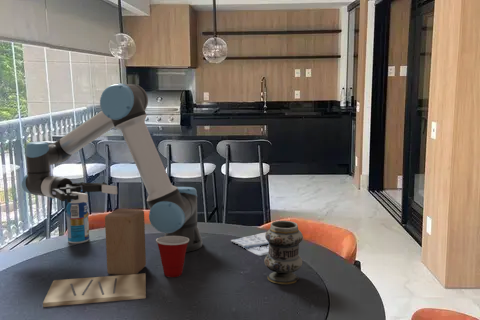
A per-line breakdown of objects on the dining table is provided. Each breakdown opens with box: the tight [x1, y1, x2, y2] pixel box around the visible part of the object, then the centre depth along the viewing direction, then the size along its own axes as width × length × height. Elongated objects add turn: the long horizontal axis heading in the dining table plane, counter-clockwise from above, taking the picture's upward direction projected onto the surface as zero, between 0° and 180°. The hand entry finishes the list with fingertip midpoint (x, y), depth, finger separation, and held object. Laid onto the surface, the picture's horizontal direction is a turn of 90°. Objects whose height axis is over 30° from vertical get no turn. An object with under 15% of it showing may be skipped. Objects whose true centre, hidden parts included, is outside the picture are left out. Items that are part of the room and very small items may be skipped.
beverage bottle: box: [65, 190, 90, 244], centre depth 189 cm, size 8×8×20 cm
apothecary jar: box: [263, 220, 304, 285], centre depth 151 cm, size 12×12×18 cm
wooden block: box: [104, 208, 147, 276], centre depth 158 cm, size 10×10×20 cm
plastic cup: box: [155, 235, 189, 278], centre depth 156 cm, size 11×11×12 cm
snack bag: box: [230, 231, 269, 257], centre depth 185 cm, size 19×20×2 cm
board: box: [42, 272, 147, 308], centre depth 144 cm, size 28×16×1 cm, turn 101°
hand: (102, 194), depth 161 cm, fingers open, 13 cm apart
